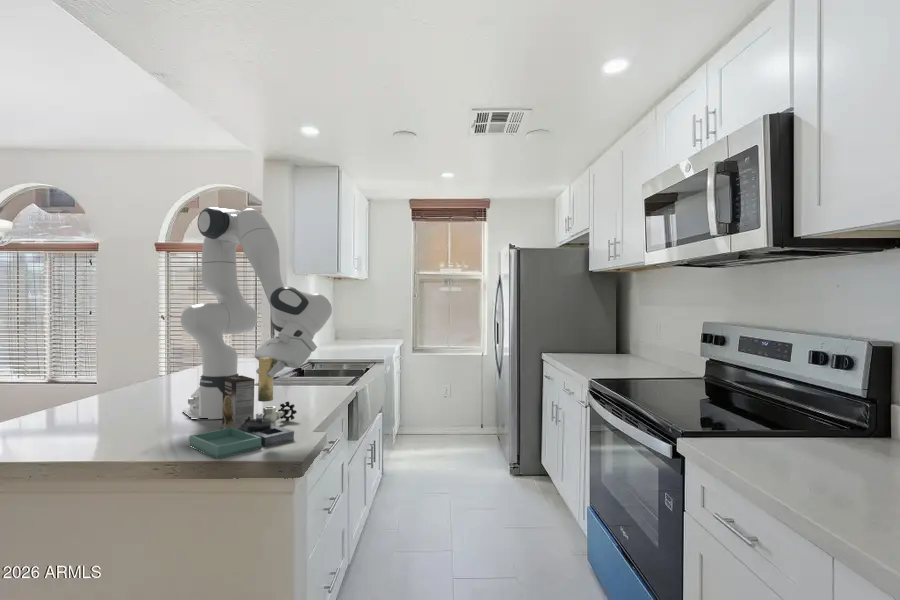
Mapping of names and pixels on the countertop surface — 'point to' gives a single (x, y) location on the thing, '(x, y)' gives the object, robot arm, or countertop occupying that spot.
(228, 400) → the coffee box
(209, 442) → the tray
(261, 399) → the pin
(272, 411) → the valve
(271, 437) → the block
